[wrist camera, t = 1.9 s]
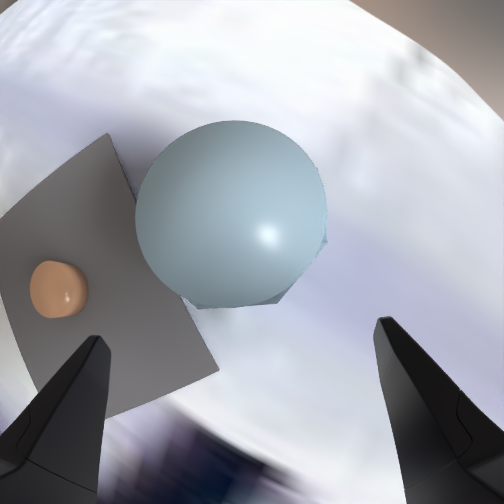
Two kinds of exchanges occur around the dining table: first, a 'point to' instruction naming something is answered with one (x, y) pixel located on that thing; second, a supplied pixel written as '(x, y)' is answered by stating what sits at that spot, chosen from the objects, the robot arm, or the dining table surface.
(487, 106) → the dining table surface
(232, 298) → the dome-topped octagonal prism
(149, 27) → the dining table surface
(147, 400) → the placemat
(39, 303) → the tan rounded pebble
